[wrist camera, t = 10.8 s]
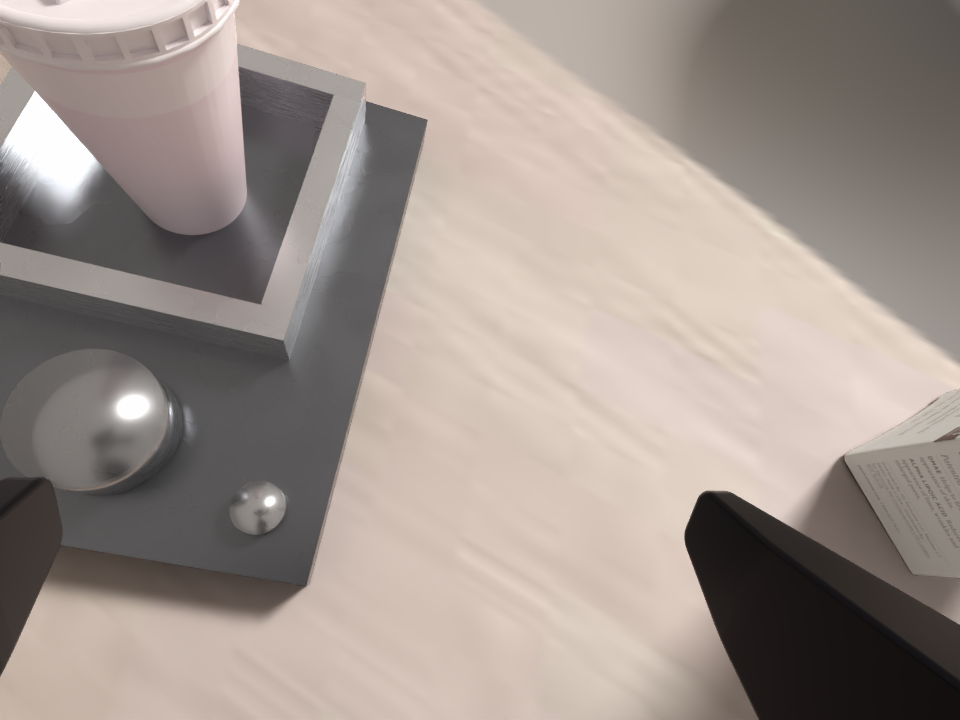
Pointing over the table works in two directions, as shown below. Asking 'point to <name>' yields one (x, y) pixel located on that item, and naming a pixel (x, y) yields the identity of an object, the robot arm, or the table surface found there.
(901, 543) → the skincare box
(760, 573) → the robot arm
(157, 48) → the smoothie
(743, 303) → the table surface
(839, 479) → the table surface
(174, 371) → the grey tray with knobs
